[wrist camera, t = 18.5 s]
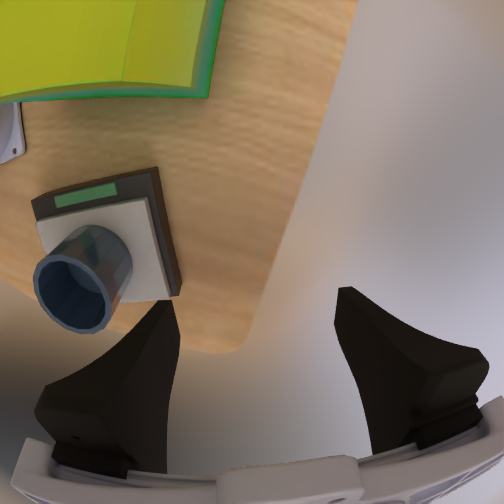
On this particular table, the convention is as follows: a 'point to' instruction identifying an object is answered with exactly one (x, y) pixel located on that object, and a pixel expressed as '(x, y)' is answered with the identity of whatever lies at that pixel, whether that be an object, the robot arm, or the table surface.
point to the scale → (119, 226)
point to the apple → (107, 48)
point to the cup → (84, 279)
